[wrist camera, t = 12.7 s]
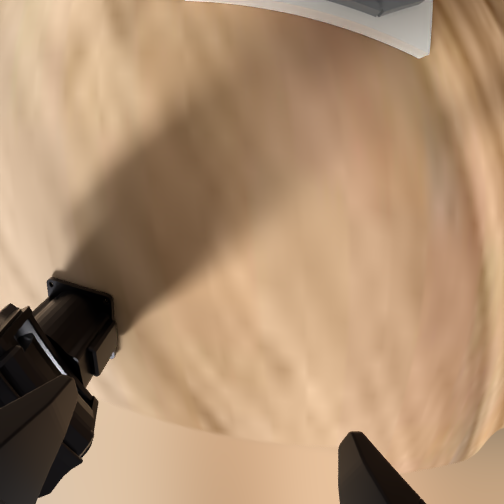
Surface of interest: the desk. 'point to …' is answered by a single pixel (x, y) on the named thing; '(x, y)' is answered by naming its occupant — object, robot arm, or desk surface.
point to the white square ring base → (364, 18)
